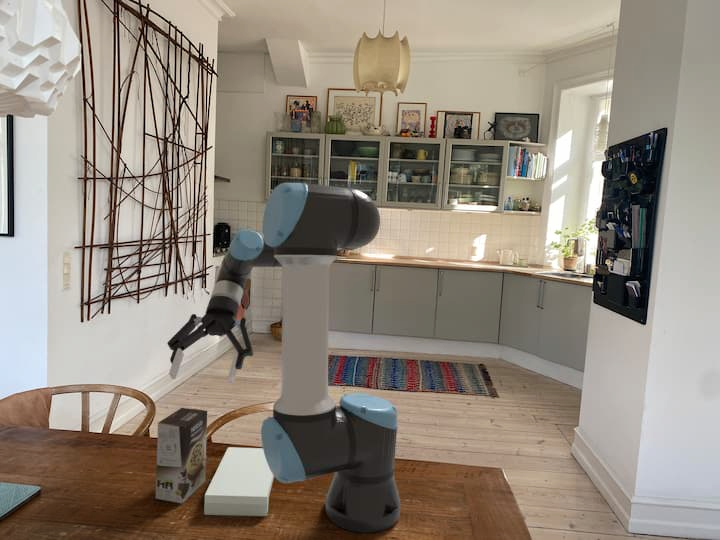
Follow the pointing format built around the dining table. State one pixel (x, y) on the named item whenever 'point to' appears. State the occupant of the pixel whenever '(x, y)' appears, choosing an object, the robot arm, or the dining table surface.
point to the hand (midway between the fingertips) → (201, 378)
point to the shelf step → (240, 484)
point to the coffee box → (181, 454)
